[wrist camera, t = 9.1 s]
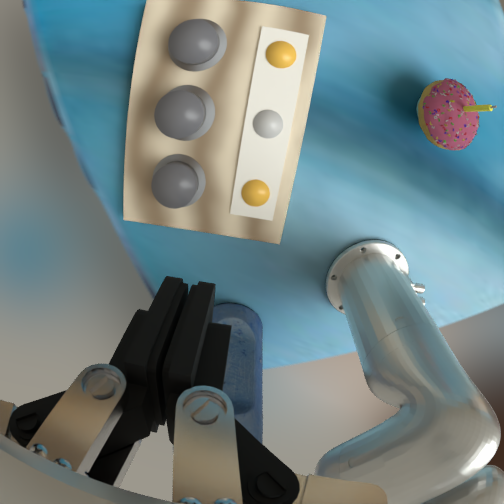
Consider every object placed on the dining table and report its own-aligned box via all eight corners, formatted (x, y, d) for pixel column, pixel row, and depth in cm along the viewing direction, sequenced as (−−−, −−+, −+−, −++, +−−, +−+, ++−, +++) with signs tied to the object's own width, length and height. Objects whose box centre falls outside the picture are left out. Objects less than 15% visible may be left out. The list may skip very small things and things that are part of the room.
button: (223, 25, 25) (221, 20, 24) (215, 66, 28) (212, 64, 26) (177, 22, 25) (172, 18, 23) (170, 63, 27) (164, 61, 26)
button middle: (209, 92, 28) (206, 92, 26) (202, 138, 30) (199, 141, 29) (163, 89, 28) (157, 88, 26) (157, 134, 30) (151, 136, 28)
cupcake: (416, 67, 28) (473, 62, 18) (464, 101, 29) (524, 112, 19) (394, 125, 32) (446, 140, 21) (443, 155, 33) (499, 180, 23)
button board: (322, 20, 27) (326, 15, 25) (278, 237, 40) (279, 245, 38) (152, 2, 25) (146, -2, 24) (129, 214, 39) (122, 220, 37)
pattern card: (308, 35, 26) (309, 34, 26) (272, 219, 36) (272, 221, 36) (262, 26, 26) (262, 26, 25) (230, 212, 36) (230, 214, 36)
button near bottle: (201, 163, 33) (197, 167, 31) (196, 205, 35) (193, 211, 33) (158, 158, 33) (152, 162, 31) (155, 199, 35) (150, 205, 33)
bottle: (197, 340, 49) (161, 517, 22) (206, 294, 44) (160, 500, 18) (253, 352, 50) (247, 529, 23) (270, 308, 45) (274, 515, 19)
